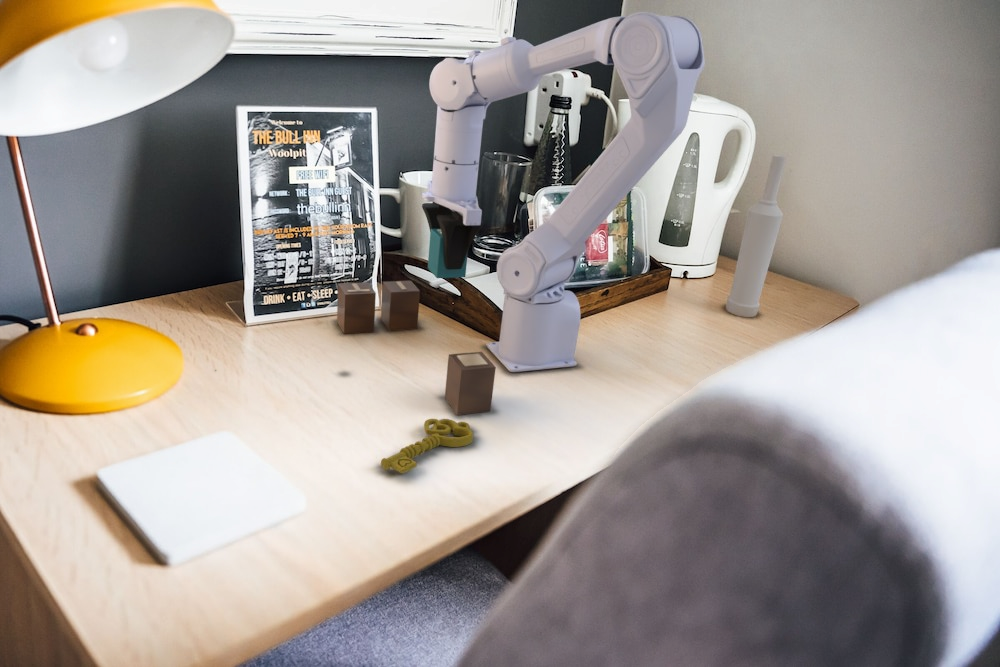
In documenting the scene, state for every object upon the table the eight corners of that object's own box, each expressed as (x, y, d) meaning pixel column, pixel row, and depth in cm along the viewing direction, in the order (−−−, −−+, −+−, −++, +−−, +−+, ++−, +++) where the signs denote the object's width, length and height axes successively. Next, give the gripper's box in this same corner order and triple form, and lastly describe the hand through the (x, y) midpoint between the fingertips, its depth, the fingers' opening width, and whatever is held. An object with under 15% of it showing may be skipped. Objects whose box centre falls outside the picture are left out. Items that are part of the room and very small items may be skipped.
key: (400, 469, 71) (364, 446, 73) (399, 480, 71) (363, 458, 74) (484, 428, 79) (448, 409, 82) (482, 438, 80) (447, 420, 83)
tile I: (408, 317, 107) (411, 279, 105) (417, 328, 104) (420, 289, 101) (380, 319, 105) (382, 280, 103) (388, 330, 102) (390, 291, 100)
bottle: (722, 303, 127) (759, 150, 117) (754, 308, 126) (793, 155, 116) (726, 314, 122) (765, 156, 112) (759, 319, 121) (801, 161, 112)
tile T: (366, 320, 105) (367, 281, 102) (374, 331, 101) (375, 292, 99) (336, 321, 103) (337, 282, 101) (343, 334, 100) (345, 293, 97)
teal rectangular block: (455, 267, 105) (459, 227, 103) (465, 277, 102) (469, 236, 99) (427, 268, 103) (430, 227, 101) (436, 278, 100) (440, 236, 98)
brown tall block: (477, 394, 88) (481, 350, 86) (490, 411, 85) (496, 366, 83) (444, 398, 87) (448, 353, 85) (457, 415, 84) (461, 369, 81)
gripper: (408, 147, 101) (402, 246, 106) (446, 173, 89) (437, 283, 94) (458, 148, 104) (450, 245, 109) (501, 174, 92) (489, 280, 97)
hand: (447, 262), depth 102 cm, fingers closed on teal rectangular block, 4 cm apart
